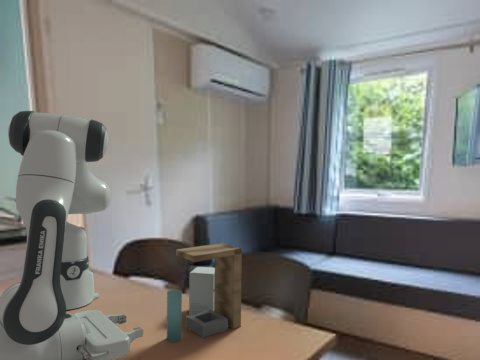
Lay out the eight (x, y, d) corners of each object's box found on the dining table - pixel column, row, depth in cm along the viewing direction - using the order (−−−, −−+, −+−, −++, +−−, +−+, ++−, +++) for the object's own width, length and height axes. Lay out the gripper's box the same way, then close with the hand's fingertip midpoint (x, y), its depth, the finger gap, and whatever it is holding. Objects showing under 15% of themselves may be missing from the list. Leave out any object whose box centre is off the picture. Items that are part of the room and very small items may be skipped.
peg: (164, 338, 97) (164, 291, 97) (176, 334, 99) (177, 288, 99) (171, 343, 94) (171, 295, 94) (184, 339, 97) (184, 292, 96)
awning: (175, 329, 102) (176, 249, 101) (221, 316, 112) (222, 242, 111) (193, 341, 95) (194, 256, 94) (240, 326, 105) (241, 248, 104)
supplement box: (212, 317, 111) (213, 274, 110) (188, 315, 112) (188, 272, 112) (219, 308, 118) (219, 267, 117) (196, 306, 119) (196, 265, 119)
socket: (186, 327, 104) (186, 316, 104) (211, 320, 109) (211, 309, 109) (202, 337, 97) (202, 326, 97) (228, 329, 103) (228, 318, 102)
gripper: (86, 344, 73) (153, 326, 82) (58, 311, 89) (117, 299, 98) (86, 377, 73) (153, 355, 82) (58, 338, 89) (117, 323, 98)
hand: (133, 324), depth 90 cm, fingers open, 8 cm apart
